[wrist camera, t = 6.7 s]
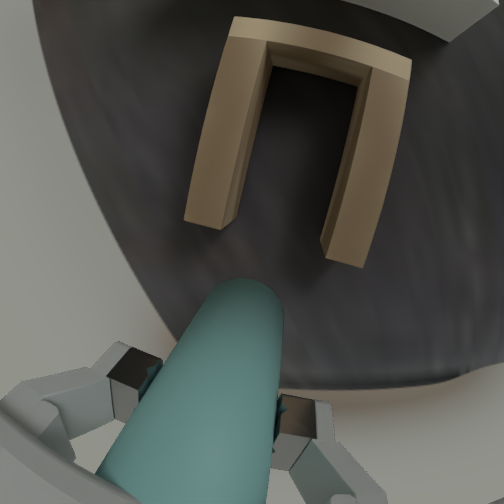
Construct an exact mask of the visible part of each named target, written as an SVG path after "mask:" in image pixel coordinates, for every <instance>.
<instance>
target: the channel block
mask: <svg viewBox="0 0 504 504" xmlns="http://www.w3.org/2000/svg"><path fill="white" fill-rule="evenodd" d="M411 65H412V60H411V59H408V58H406V57H404V56H401V55H399V54H396V53H394V52H391V51H388V50H386V49H383V48H380V47H378V46H375V45H372V44H369V43H366V42H363V41H360V40H356V39H353V38H350V37H346V36H343V35H339V34H335V33H332V32H328V31H324V30H319V29H315V28H311V27H306V26H301V25H296V24H290V23H285V22H279V21H272V20H265V19H257V18H247V17H236V16H234V19H233V22H232V25H231V28H230V31H229V35H228V38H227V41H226V44H225V47H224V51H223V54H222V57H221V61H220V64H219V68H218V71H217V75H216V78H215V82H214V86H213V89H212V93H211V97H210V101H209V105H208V108H207V112H206V116H205V121H204V125H203V129H202V133H201V137H200V142H199V146H198V151H197V155H196V160H195V164H194V169H193V174H192V179H191V184H190V189H189V194H188V199H187V204H186V210H185V215H184V221H188V222H192V223H195V224H199V225H203V226H207V227H211V228H215V229H219V230H221V229H223V228H224V227H225V226H226V225H228V224H229V223H230V222H231V221H233V220H234V219H235V218H236V216H237V212H238V207H239V203H240V199H241V194H242V190H243V186H244V181H245V177H246V173H247V169H248V164H249V160H250V156H251V152H252V148H253V143H254V139H255V135H256V131H257V127H258V123H259V119H260V115H261V111H262V107H263V103H264V99H265V95H266V91H267V87H268V83H269V79H270V75H271V72H272V68H273V66H278V67H283V68H288V69H293V70H297V71H302V72H306V73H310V74H314V75H318V76H322V77H326V78H330V79H333V80H337V81H340V82H344V83H347V84H350V85H353V86H357V87H358V88H357V93H356V98H355V103H354V108H353V112H352V117H351V121H350V126H349V130H348V135H347V139H346V143H345V147H344V151H343V156H342V160H341V164H340V168H339V172H338V175H337V179H336V183H335V187H334V191H333V194H332V198H331V202H330V205H329V209H328V213H327V216H326V220H325V223H324V227H323V230H322V234H321V237H320V242H321V246H322V249H323V252H324V255H325V258H327V259H331V260H334V261H338V262H341V263H345V264H349V265H352V266H356V267H359V268H363V266H364V263H365V260H366V257H367V254H368V251H369V248H370V245H371V242H372V239H373V236H374V233H375V229H376V226H377V223H378V220H379V216H380V213H381V209H382V206H383V202H384V199H385V195H386V192H387V188H388V184H389V180H390V176H391V172H392V168H393V164H394V160H395V155H396V151H397V147H398V142H399V137H400V132H401V127H402V122H403V117H404V111H405V106H406V100H407V94H408V87H409V80H410V73H411Z"/></svg>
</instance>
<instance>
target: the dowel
mask: <svg viewBox="0 0 504 504" xmlns="http://www.w3.org/2000/svg"><path fill="white" fill-rule="evenodd" d="M283 325H284V311H283V307H282V304H281V302H280V300H279V298H278V297H277V295H276V294H275V293H274V292H273V291H272V290H271V289H270V288H269V287H267V286H266V285H264V284H263V283H260V282H258V281H255V280H252V279H247V278H235V279H230V280H227V281H224V282H222V283H220V284H219V285H217V286H216V287H215V288H214V289H213V290H212V291H211V292H210V294H209V295H208V297H207V298H206V300H205V301H204V303H203V304H202V306H201V307H200V309H199V310H198V312H197V314H196V315H195V317H194V318H193V320H192V321H191V323H190V324H189V326H188V327H187V329H186V330H185V332H184V334H183V335H182V337H181V338H180V340H179V341H178V343H177V344H176V346H175V348H174V349H173V351H172V352H171V354H170V355H169V357H168V358H167V360H166V361H165V363H164V365H163V366H162V368H161V369H160V371H159V372H158V374H157V375H156V377H155V379H154V380H153V382H152V383H151V385H150V386H149V388H148V390H147V391H146V393H145V394H144V396H143V397H142V399H141V401H140V402H139V404H138V405H137V407H136V409H135V410H134V412H133V413H132V415H131V416H130V418H129V420H128V421H127V423H126V424H125V426H124V428H123V429H122V431H121V432H120V434H119V436H118V437H117V439H116V440H115V442H114V444H113V445H112V447H111V448H110V450H109V452H108V453H107V455H106V456H105V458H104V460H103V461H102V463H101V465H100V466H99V468H98V469H97V471H96V473H95V475H97V476H99V477H101V478H103V479H105V480H107V481H109V482H111V483H113V484H115V485H117V486H118V487H120V488H122V489H124V490H125V491H126V492H128V493H129V494H131V495H132V496H133V497H135V498H136V499H137V500H138V501H140V502H141V503H143V504H266V497H267V490H268V481H269V474H270V466H271V457H272V448H273V439H274V430H275V420H276V410H277V399H278V389H279V377H280V365H281V353H282V339H283Z"/></svg>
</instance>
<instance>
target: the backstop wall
mask: <svg viewBox="0 0 504 504" xmlns="http://www.w3.org/2000/svg"><path fill="white" fill-rule="evenodd" d="M342 1H346V2H349V3H353V4H356V5H360V6H363V7H366V8H369V9H372V10H375V11H378V12H381V13H384V14H386V15H389V16H392V17H394V18H397V19H400V20H402V21H405V22H407V23H409V24H412V25H414V26H416V27H418V28H421V29H423V30H425V31H427V32H429V33H431V34H433V35H435V36H437V37H439V38H441V39H443V40H445V41H447V42H451V41H452V40H453V39H455V38H456V37H457V36H458V35H460V34H461V33H462V32H464V31H465V30H466V29H468V28H469V27H470V26H472V25H473V24H474V23H476V22H477V21H478V20H480V19H481V18H482V17H484V16H485V15H486V14H488V13H489V12H490V11H492V10H493V9H495V8H496V7H497V6H499V1H498V0H342Z"/></svg>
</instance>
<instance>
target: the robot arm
mask: <svg viewBox="0 0 504 504" xmlns="http://www.w3.org/2000/svg"><path fill="white" fill-rule="evenodd" d="M162 366H163V360H162V359H161V358H158V357H156V356H153V355H151V354H148V353H146V352H143V351H141V350H138V349H136V348H134V347H131V346H128V345H126V344H124V343H122V342H120V341H119V342H116V343H114V344H113V345H112V346H111V347H110V348H109V349H108V351H106V352H105V354H104V355H103V356H102V357H101V358H100V359H99V360H98V361H97V362H96V363H95V364H94V365H93V366H92V367H91V368H90V369H89V368H87V367H84V368H80V369H76V370H72V371H67V372H63V373H58V374H54V375H49V376H45V377H40V378H35V379H31V380H25V381H21V382H20V383H19V384H18V385H17V386H16V387H14V388H13V389H12V390H11V391H10V392H9V393H8V394H7V395H6V396H5V397H4V398H2V399H1V400H0V504H143V503H141V502H140V501H138V500H137V499H136V498H135V497H133V496H132V495H131V494H129V493H128V492H126V491H125V490H124V489H122V488H120V487H118V486H117V485H115V484H113V483H111V482H109V481H107V480H105V479H103V478H101V477H99V476H97V475H95V474H93V473H91V472H89V471H88V470H86V469H84V468H82V467H80V466H79V465H77V464H75V463H74V462H73V461H74V460H75V458H76V457H75V453H74V450H73V448H72V446H71V443H70V441H69V440H71V439H73V438H76V437H78V436H80V435H83V434H85V433H87V432H89V431H91V430H94V429H96V428H98V427H100V426H102V425H105V424H107V423H109V422H111V421H113V420H114V419H117V420H119V421H121V422H123V423H127V421H128V420H129V418H130V416H131V415H132V413H133V412H134V410H135V409H136V407H137V405H138V404H139V402H140V401H141V399H142V397H143V396H144V394H145V393H146V391H147V390H148V388H149V386H150V385H151V383H152V382H153V380H154V379H155V377H156V375H157V374H158V372H159V371H160V369H161V368H162ZM270 468H274V469H279V470H285V471H289V474H290V475H291V478H292V479H293V481H294V483H295V485H296V486H297V489H298V490H299V492H300V494H301V496H302V497H303V499H304V501H305V502H306V504H388V502H387V496H386V492H385V491H384V490H383V489H382V488H381V487H380V486H379V485H378V484H377V483H376V482H375V481H374V480H373V478H372V477H371V476H369V474H368V473H367V472H366V471H365V470H364V469H363V468H362V467H361V466H360V464H359V463H358V462H357V461H356V460H355V459H354V458H353V457H352V455H351V454H350V453H349V452H348V451H347V450H346V449H345V448H344V446H343V445H342V444H341V443H340V442H335V434H334V424H333V416H332V408H331V403H330V402H327V401H320V400H312V399H307V398H302V397H296V396H291V395H286V394H281V395H280V396H279V398H278V401H277V410H276V420H275V430H274V439H273V448H272V457H271V466H270ZM489 504H504V498H501V499H499V500H496V501H494V502H491V503H489Z"/></svg>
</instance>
